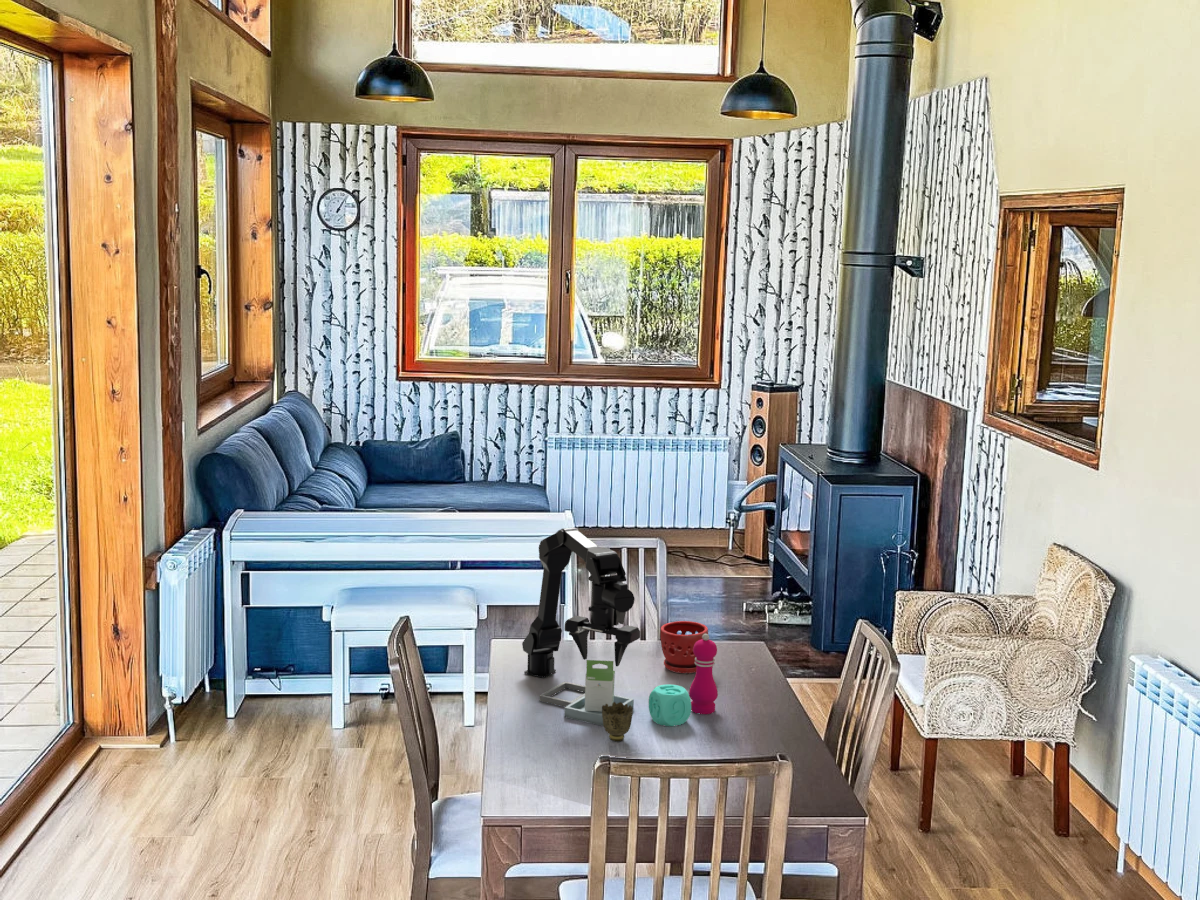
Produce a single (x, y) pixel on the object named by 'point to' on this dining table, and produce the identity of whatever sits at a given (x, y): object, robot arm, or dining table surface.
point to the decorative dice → (669, 705)
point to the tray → (594, 717)
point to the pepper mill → (704, 677)
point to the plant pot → (681, 645)
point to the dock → (546, 696)
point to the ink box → (599, 685)
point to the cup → (617, 720)
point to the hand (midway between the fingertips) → (601, 662)
